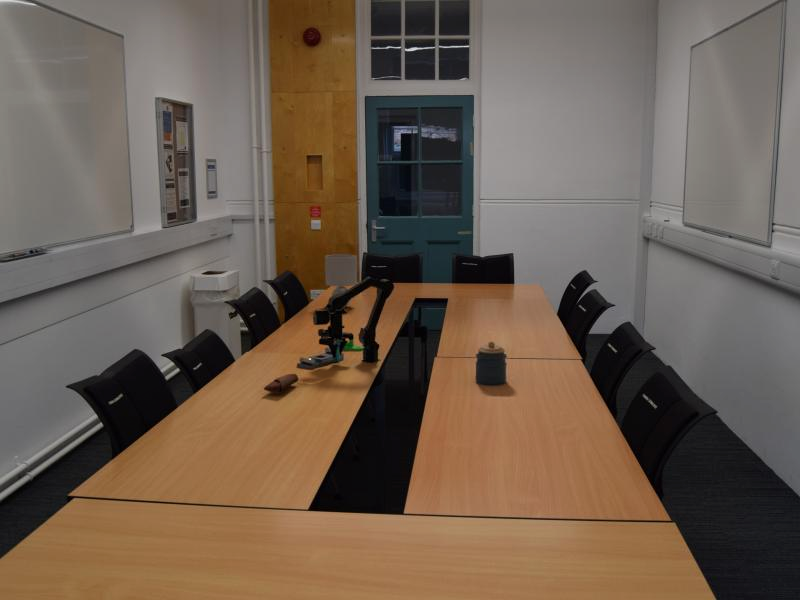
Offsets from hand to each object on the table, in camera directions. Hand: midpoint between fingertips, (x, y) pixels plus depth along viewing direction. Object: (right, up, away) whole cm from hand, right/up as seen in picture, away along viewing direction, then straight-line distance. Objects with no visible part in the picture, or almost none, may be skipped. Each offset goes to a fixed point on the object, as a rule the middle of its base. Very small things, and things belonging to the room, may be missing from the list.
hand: (336, 357), depth 371 cm
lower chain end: (-10, -4, 0) cm, 10 cm away
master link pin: (0, -2, 0) cm, 2 cm away
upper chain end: (-5, -3, +7) cm, 9 cm away
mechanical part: (+5, +1, +31) cm, 31 cm away
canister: (+67, -9, -32) cm, 75 cm away
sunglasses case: (-21, -10, -40) cm, 47 cm away
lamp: (-9, +19, +150) cm, 151 cm away
